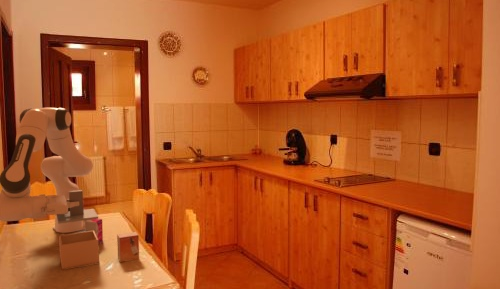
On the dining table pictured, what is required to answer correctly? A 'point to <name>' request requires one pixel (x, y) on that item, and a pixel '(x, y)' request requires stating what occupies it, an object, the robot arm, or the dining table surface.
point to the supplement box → (95, 228)
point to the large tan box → (78, 249)
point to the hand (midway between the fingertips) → (78, 202)
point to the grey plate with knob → (77, 210)
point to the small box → (128, 246)
